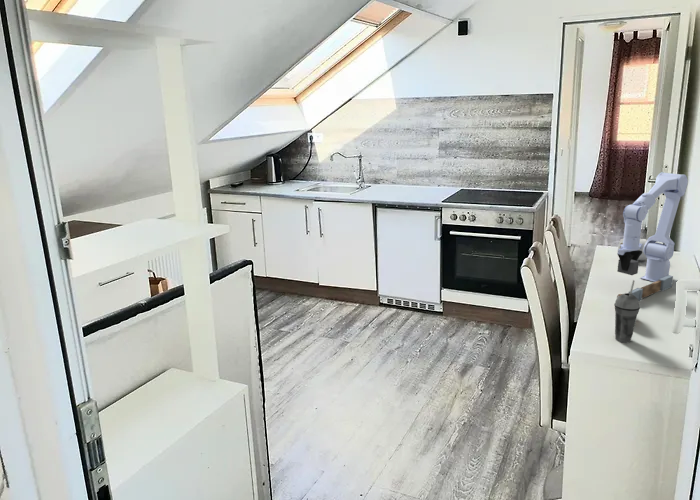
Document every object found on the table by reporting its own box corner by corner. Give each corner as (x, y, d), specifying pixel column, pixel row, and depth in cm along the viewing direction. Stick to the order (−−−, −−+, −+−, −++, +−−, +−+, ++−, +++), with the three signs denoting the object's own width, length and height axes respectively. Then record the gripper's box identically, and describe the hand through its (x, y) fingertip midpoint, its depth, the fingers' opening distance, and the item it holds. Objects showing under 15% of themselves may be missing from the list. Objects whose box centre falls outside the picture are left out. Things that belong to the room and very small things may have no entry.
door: (658, 289, 218) (659, 280, 217) (660, 290, 217) (662, 280, 216) (638, 298, 210) (639, 288, 209) (640, 298, 209) (642, 288, 208)
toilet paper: (624, 263, 253) (626, 241, 250) (617, 256, 263) (619, 236, 260) (647, 263, 252) (650, 242, 249) (639, 257, 261) (642, 236, 258)
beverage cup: (605, 335, 180) (612, 277, 175) (627, 334, 181) (634, 276, 175) (618, 345, 173) (625, 285, 168) (640, 343, 174) (648, 283, 168)
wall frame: (666, 285, 223) (668, 275, 222) (672, 286, 222) (673, 276, 220) (626, 302, 207) (628, 291, 205) (631, 304, 205) (633, 293, 204)
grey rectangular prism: (622, 269, 222) (624, 257, 221) (637, 273, 217) (639, 261, 216) (617, 271, 220) (618, 259, 218) (632, 275, 215) (633, 263, 214)
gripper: (631, 230, 222) (628, 263, 225) (611, 236, 214) (608, 270, 217) (649, 234, 216) (645, 267, 220) (629, 240, 208) (625, 274, 212)
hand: (627, 269), depth 218 cm, fingers closed on grey rectangular prism, 4 cm apart
